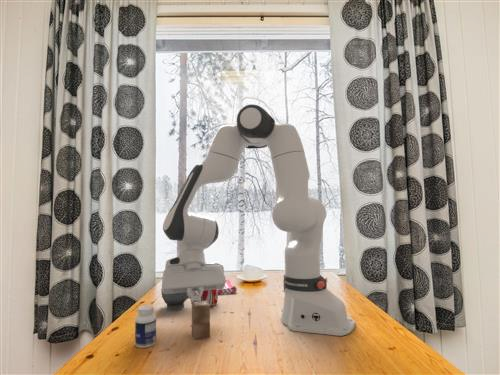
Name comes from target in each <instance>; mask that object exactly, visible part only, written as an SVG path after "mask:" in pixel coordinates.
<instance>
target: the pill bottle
mask: <svg viewBox="0 0 500 375" xmlns="http://www.w3.org/2000/svg"><path fill="white" fill-rule="evenodd" d="M137 314H138V315H137V316H136V317H135V319H134V321H135V322H134V326H135V327H134V329H135V330H134V333H135V334H134V335H135V336H134V339H135V340H134V343H135V347H137V348H141V349H146V348H150V347H152V346H154V345H156V343H157V315H156V314H155V313H154V306H153V305H152V304H151V305H150V304H148V305H147V304H145V305H141V306H139V307H138V308H137Z"/></svg>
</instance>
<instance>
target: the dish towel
mask: <svg viewBox="0 0 500 375" xmlns="http://www.w3.org/2000/svg"><path fill="white" fill-rule="evenodd" d="M237 289H238V287H236V286H235V285H233V283H232V282H231V279H226V284H225V287H224V288H223V289H218V296H219V295H220V296H222V295H234V294H236V292H237V291H238V290H237ZM191 294H192V295H193V296H199V293H198V291H195V292H191ZM187 299H190V298H189V297H188V298H187Z"/></svg>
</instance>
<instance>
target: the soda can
mask: <svg viewBox="0 0 500 375" xmlns="http://www.w3.org/2000/svg"><path fill="white" fill-rule="evenodd" d="M218 300H219V295H218V289H217V290H206V291H203V294H202V296H201V301H208V303H209V305H210V307H212V306H215V305H216V304H217V303H218Z"/></svg>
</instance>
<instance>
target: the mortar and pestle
mask: <svg viewBox="0 0 500 375" xmlns="http://www.w3.org/2000/svg"><path fill="white" fill-rule="evenodd" d="M160 289H161V290H160V291H161V298H162V299H163V302H164V303H165V304H166V309H167V310H168V311H178V310H179V311H180V310H182V309H184V308H185V304H184V303H185V302H186V301H187V299H189V298H188V296H187V292H184V293H173V294H164V293H163V292H162V288H160Z"/></svg>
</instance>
